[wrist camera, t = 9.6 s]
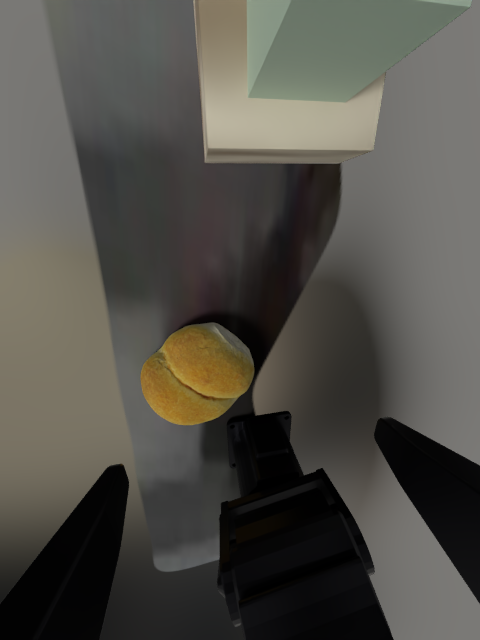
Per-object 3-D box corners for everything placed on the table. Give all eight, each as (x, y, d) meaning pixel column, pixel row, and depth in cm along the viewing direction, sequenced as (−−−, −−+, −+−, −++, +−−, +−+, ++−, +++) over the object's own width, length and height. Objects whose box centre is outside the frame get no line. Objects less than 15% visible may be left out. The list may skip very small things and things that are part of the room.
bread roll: (126, 378, 20) (111, 414, 16) (196, 302, 19) (197, 322, 15) (201, 421, 23) (203, 458, 20) (266, 358, 22) (281, 386, 18)
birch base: (338, 163, 16) (373, 150, 13) (205, 163, 15) (208, 148, 12) (361, -37, 13) (417, -121, 10) (188, -61, 11) (187, -169, 8)
